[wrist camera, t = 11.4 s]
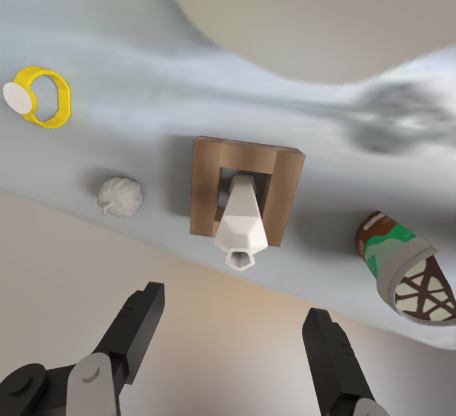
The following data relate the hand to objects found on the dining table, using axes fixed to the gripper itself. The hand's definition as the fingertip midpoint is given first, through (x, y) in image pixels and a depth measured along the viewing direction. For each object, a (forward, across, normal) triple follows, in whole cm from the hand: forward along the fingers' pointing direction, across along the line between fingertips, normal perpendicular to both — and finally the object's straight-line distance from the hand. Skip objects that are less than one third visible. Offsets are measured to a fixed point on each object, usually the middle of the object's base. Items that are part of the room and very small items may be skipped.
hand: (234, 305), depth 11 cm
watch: (+19, +23, -8) cm, 31 cm away
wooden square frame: (+19, 0, 0) cm, 19 cm away
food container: (+19, -20, +6) cm, 28 cm away
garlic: (+19, +16, +3) cm, 25 cm away
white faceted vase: (+19, 0, 0) cm, 19 cm away
